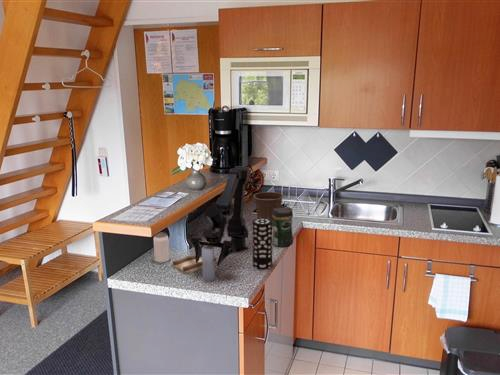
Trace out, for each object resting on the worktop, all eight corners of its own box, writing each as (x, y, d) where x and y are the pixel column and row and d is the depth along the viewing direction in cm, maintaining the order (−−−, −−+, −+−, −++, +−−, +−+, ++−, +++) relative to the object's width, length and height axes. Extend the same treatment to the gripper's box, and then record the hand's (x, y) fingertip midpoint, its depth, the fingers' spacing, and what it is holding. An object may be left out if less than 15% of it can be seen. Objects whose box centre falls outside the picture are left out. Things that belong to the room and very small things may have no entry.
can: (163, 256, 193) (161, 231, 190) (172, 259, 189) (171, 234, 186) (151, 260, 188) (150, 235, 185) (161, 264, 184) (159, 238, 181)
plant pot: (272, 230, 226) (272, 201, 222) (248, 224, 235) (247, 196, 231) (288, 222, 238) (288, 194, 234) (264, 217, 248) (264, 190, 244)
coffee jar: (287, 240, 211) (288, 204, 206) (295, 245, 204) (295, 208, 199) (270, 243, 207) (270, 206, 203) (277, 248, 200) (277, 211, 196)
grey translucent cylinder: (210, 274, 173) (209, 245, 170) (217, 278, 170) (216, 248, 167) (200, 278, 170) (199, 248, 167) (207, 282, 167) (206, 251, 164)
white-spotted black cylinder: (248, 265, 182) (248, 221, 177) (262, 260, 187) (262, 217, 183) (262, 271, 176) (262, 225, 171) (276, 265, 182) (276, 221, 177)
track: (202, 256, 192) (202, 251, 191) (217, 263, 184) (216, 258, 183) (172, 266, 182) (171, 260, 181) (185, 274, 174) (185, 268, 173)
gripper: (190, 217, 171) (178, 253, 164) (233, 222, 165) (222, 259, 158) (199, 229, 180) (188, 264, 173) (240, 234, 174) (230, 270, 167)
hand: (206, 264), depth 167 cm, fingers open, 9 cm apart
